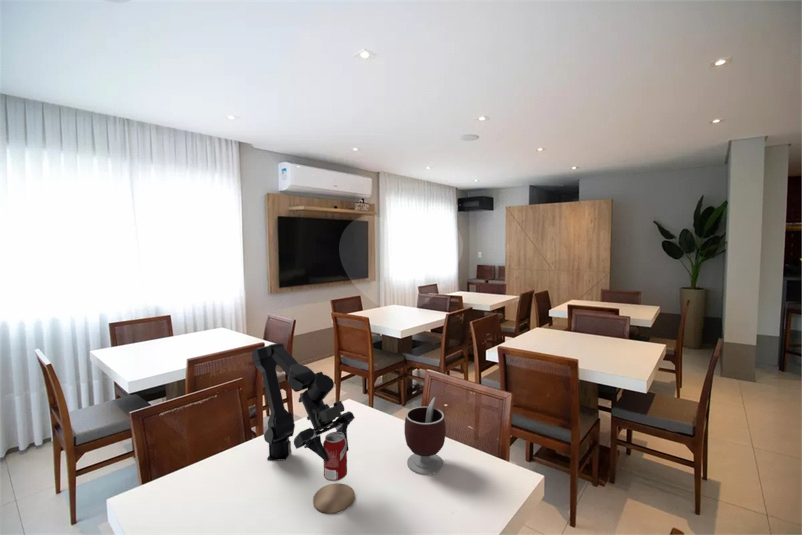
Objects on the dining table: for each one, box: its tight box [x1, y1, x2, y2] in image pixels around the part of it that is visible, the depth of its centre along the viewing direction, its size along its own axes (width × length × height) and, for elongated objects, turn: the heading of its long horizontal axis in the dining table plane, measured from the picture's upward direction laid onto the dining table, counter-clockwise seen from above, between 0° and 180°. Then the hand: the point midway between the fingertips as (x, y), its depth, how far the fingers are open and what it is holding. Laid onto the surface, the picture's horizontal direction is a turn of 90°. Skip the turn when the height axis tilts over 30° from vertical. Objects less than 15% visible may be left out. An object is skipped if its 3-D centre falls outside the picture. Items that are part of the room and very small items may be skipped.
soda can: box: [322, 431, 348, 482], centre depth 108 cm, size 7×7×12 cm
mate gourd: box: [404, 396, 447, 476], centre depth 126 cm, size 16×14×20 cm
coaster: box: [312, 482, 356, 515], centre depth 108 cm, size 12×12×1 cm
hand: (337, 456), depth 107 cm, fingers closed on soda can, 7 cm apart
